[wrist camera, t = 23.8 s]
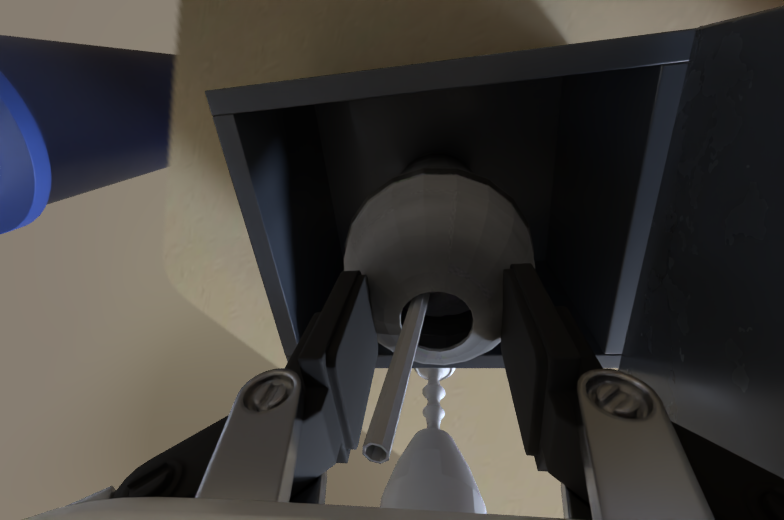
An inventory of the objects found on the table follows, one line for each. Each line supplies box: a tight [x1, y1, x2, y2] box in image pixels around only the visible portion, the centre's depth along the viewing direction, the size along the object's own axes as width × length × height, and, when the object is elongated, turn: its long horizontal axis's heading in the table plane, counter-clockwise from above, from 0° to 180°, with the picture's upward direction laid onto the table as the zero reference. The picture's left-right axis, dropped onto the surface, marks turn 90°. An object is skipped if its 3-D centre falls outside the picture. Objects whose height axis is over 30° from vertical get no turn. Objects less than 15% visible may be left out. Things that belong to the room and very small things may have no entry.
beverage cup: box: [344, 152, 535, 464], centre depth 15 cm, size 7×7×20 cm
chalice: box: [380, 368, 487, 514], centre depth 23 cm, size 7×7×18 cm
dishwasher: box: [205, 28, 697, 368], centre depth 20 cm, size 17×14×11 cm
